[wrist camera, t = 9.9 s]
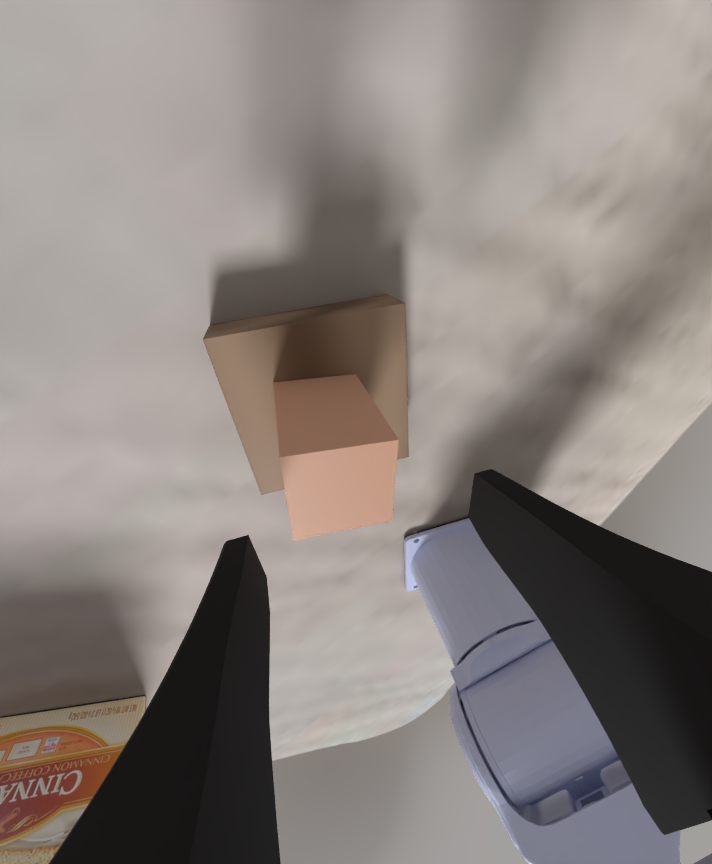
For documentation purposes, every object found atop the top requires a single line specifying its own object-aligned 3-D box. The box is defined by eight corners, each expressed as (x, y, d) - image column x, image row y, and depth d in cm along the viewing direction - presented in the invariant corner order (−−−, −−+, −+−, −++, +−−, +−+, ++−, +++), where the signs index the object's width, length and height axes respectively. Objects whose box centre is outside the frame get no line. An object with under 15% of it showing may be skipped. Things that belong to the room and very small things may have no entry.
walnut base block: (383, 293, 17) (405, 303, 15) (391, 431, 22) (408, 456, 20) (211, 322, 16) (202, 339, 13) (260, 463, 21) (261, 495, 18)
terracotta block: (355, 373, 16) (398, 439, 11) (356, 440, 18) (391, 520, 13) (273, 382, 15) (279, 457, 10) (283, 451, 17) (293, 540, 12)
